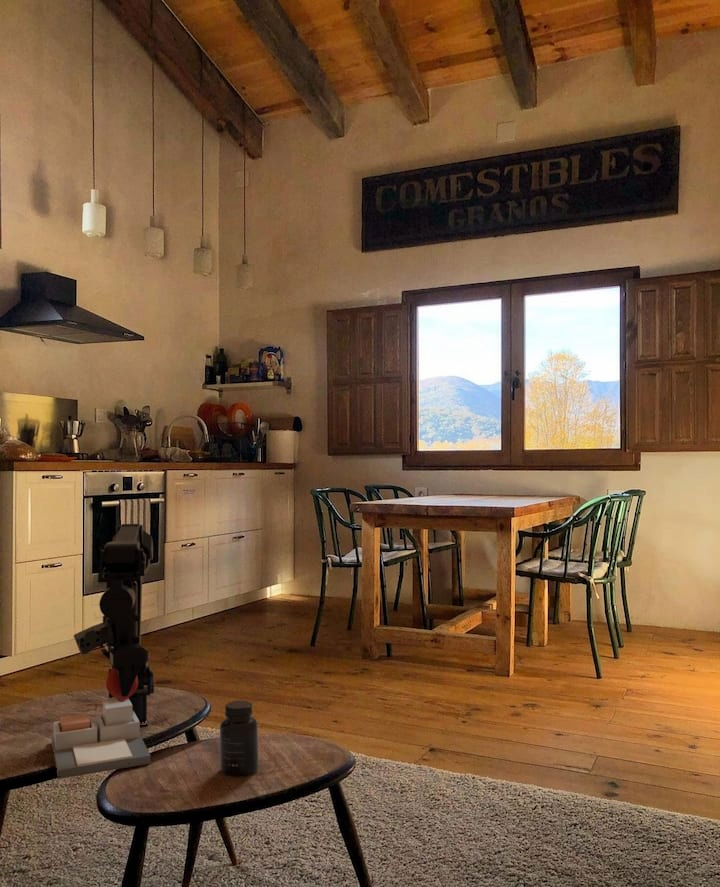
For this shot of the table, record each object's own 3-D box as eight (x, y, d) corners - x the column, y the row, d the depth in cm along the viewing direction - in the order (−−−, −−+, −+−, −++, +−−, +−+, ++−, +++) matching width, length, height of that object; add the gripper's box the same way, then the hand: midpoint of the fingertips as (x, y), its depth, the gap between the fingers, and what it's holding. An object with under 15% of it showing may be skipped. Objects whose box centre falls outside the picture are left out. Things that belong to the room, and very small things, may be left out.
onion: (136, 696, 152) (136, 654, 153) (139, 704, 147) (139, 661, 147) (105, 699, 150) (105, 657, 151) (107, 707, 145) (106, 664, 145)
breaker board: (134, 730, 162) (134, 708, 162) (150, 763, 145) (150, 739, 145) (51, 742, 156) (51, 720, 156) (58, 778, 138) (58, 753, 138)
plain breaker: (128, 717, 159) (128, 698, 159) (132, 725, 155) (132, 705, 155) (102, 721, 157) (102, 701, 157) (106, 729, 153) (106, 708, 153)
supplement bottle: (227, 761, 146) (227, 697, 146) (262, 764, 145) (262, 698, 145) (214, 777, 139) (214, 709, 139) (251, 779, 138) (251, 711, 138)
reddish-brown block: (87, 733, 156) (87, 713, 156) (89, 742, 152) (89, 721, 152) (60, 737, 154) (60, 717, 154) (62, 746, 149) (62, 725, 149)
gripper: (71, 605, 154) (70, 685, 153) (84, 622, 137) (84, 712, 137) (129, 600, 159) (129, 677, 159) (148, 616, 142) (148, 703, 142)
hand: (121, 691), depth 149 cm, fingers closed on onion, 6 cm apart
